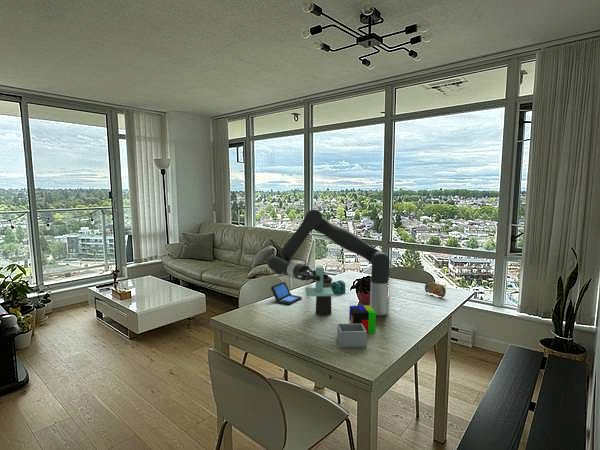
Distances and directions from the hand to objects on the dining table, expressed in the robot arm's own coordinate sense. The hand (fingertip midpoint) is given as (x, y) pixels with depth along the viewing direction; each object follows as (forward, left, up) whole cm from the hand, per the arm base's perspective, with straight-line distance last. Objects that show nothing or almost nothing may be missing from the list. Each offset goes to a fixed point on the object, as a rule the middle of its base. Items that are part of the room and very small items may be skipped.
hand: (323, 277), depth 153 cm
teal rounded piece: (-13, -70, -27) cm, 76 cm away
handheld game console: (+16, -51, -27) cm, 60 cm away
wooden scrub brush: (-77, -57, -27) cm, 100 cm away
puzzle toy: (-19, -6, -27) cm, 34 cm away
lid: (+2, -2, -7) cm, 8 cm away
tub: (-11, +9, -26) cm, 30 cm away
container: (-3, -28, -27) cm, 39 cm away
